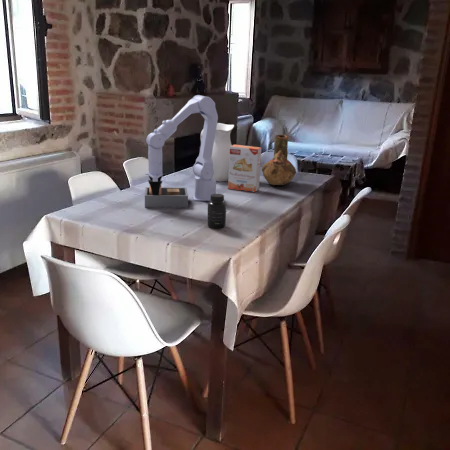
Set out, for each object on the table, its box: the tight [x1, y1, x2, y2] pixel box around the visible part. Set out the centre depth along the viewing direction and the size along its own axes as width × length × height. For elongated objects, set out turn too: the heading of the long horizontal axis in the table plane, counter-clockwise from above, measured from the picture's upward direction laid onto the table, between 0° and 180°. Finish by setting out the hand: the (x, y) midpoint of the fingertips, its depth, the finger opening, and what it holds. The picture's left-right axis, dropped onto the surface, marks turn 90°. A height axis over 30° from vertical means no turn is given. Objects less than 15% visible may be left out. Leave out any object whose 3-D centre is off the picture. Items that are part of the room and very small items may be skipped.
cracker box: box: [227, 144, 262, 193], centre depth 227 cm, size 14×6×21 cm, turn 68°
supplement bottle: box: [206, 193, 227, 230], centre depth 176 cm, size 7×7×12 cm
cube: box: [167, 189, 179, 195], centre depth 204 cm, size 5×5×5 cm
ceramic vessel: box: [261, 134, 297, 186], centre depth 238 cm, size 17×26×25 cm, turn 171°
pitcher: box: [200, 122, 235, 182], centre depth 242 cm, size 24×17×28 cm
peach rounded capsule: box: [148, 184, 162, 195], centre depth 202 cm, size 5×5×7 cm
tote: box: [144, 186, 189, 209], centre depth 203 cm, size 18×14×5 cm
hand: (155, 194), depth 202 cm, fingers open, 7 cm apart
